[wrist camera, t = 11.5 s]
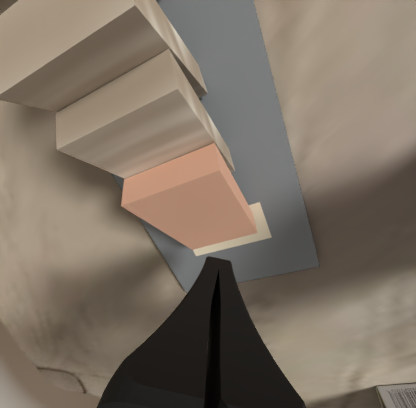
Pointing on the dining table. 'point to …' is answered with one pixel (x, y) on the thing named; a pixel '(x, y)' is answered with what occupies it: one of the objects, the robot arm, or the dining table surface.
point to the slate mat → (242, 144)
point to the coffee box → (397, 395)
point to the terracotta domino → (191, 199)
